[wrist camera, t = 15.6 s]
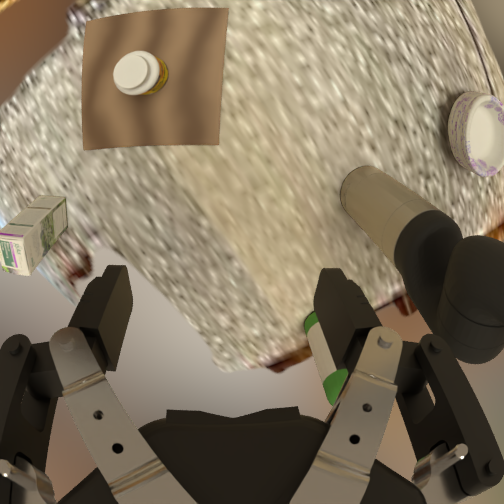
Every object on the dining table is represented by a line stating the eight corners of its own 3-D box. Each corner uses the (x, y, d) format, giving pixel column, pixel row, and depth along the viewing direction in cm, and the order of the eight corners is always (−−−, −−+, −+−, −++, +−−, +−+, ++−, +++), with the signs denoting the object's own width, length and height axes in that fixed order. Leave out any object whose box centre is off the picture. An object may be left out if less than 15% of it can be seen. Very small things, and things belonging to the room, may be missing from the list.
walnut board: (228, 10, 28) (228, 8, 27) (218, 143, 39) (218, 144, 38) (89, 22, 26) (86, 21, 25) (86, 148, 36) (83, 150, 35)
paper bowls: (488, 101, 36) (516, 109, 30) (478, 168, 44) (504, 182, 38) (440, 78, 35) (471, 83, 28) (430, 158, 43) (458, 172, 36)
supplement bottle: (162, 97, 33) (145, 100, 25) (126, 90, 32) (100, 92, 24) (175, 61, 31) (161, 52, 22) (138, 54, 29) (114, 45, 21)
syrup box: (39, 194, 38) (-9, 236, 26) (67, 196, 39) (21, 240, 27) (42, 224, 41) (0, 271, 29) (69, 227, 42) (30, 278, 30)
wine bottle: (337, 302, 57) (396, 431, 32) (337, 327, 61) (386, 446, 36) (301, 311, 57) (346, 449, 32) (304, 336, 62) (342, 461, 36)
